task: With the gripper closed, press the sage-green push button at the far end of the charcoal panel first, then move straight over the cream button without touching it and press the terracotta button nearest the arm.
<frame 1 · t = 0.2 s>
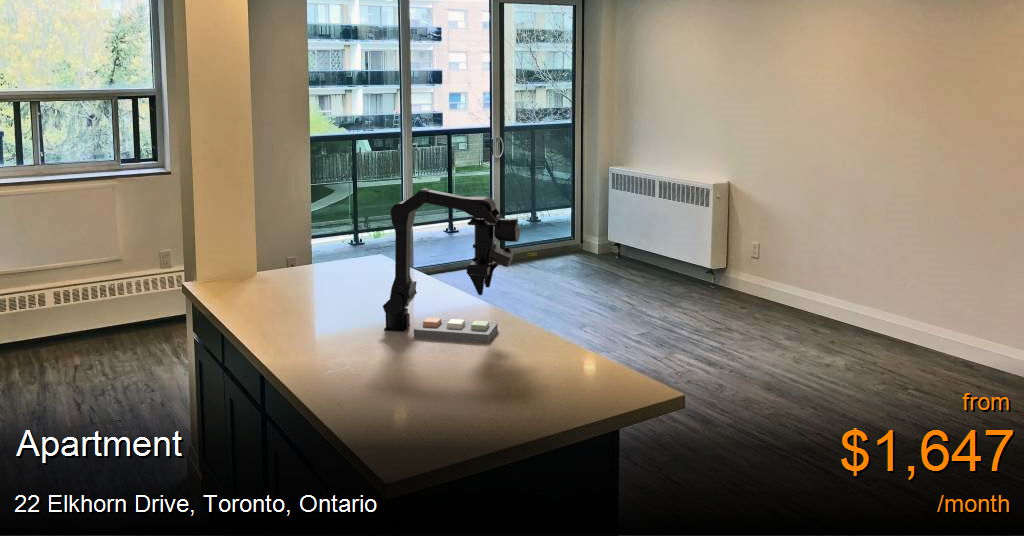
hand: (484, 291, 283), 14 cm above the kitchen island, fingers open, 9 cm apart
button panel: (456, 334, 287), on the kitchen island
cream button: (456, 325, 286), point 3 cm above the kitchen island, slide at 0.0 cm
sage button: (480, 327, 285), point 3 cm above the kitchen island, slide at 0.0 cm
terracotta button: (432, 323, 288), point 3 cm above the kitchen island, slide at 0.0 cm
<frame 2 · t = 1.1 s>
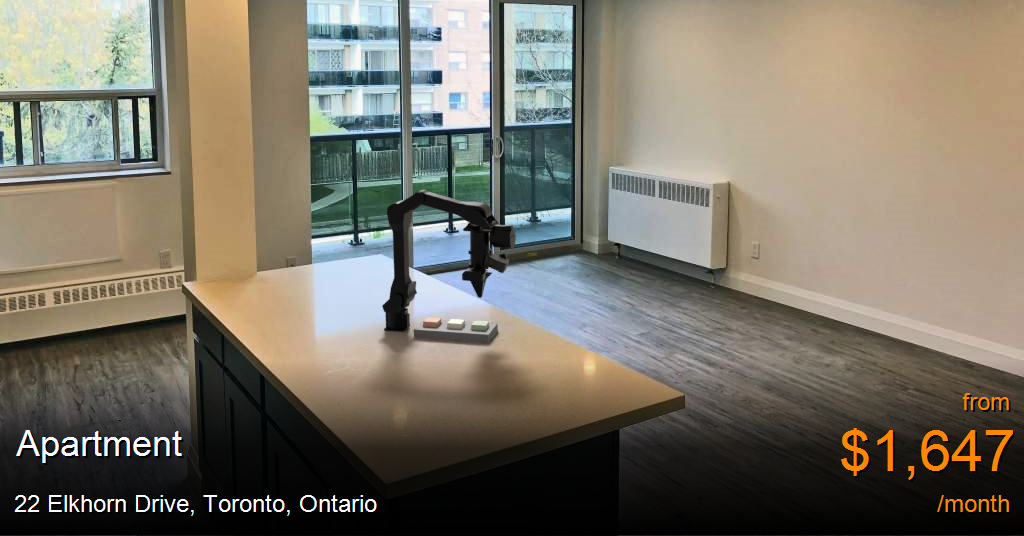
hand: (480, 297, 282), 12 cm above the kitchen island, fingers closed
nothing on the kitchen island moved.
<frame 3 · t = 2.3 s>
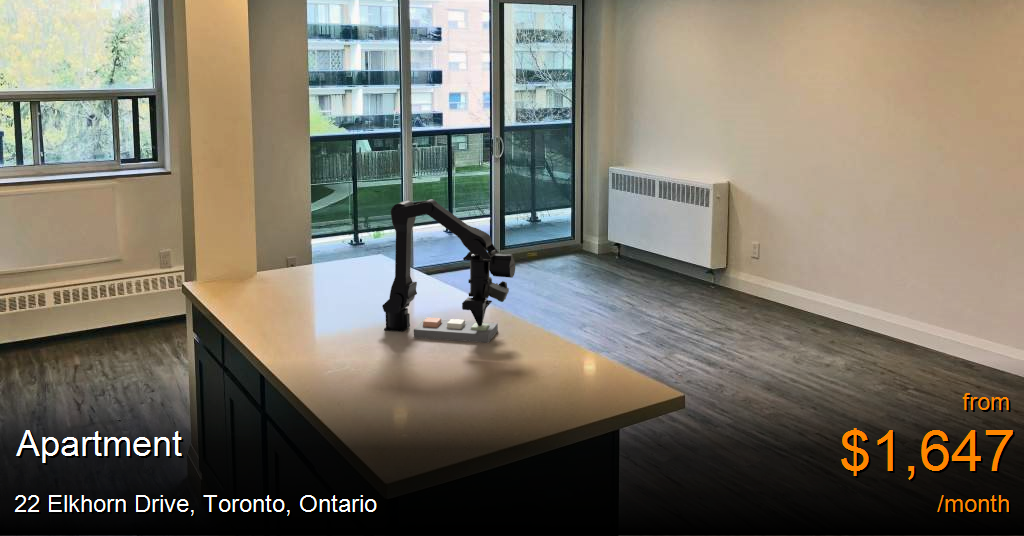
hand: (480, 325, 284), 3 cm above the kitchen island, fingers closed, pressing on sage button
sage button: (480, 329, 285), point 2 cm above the kitchen island, slide at 0.8 cm, touching gripper
everything else where it was.
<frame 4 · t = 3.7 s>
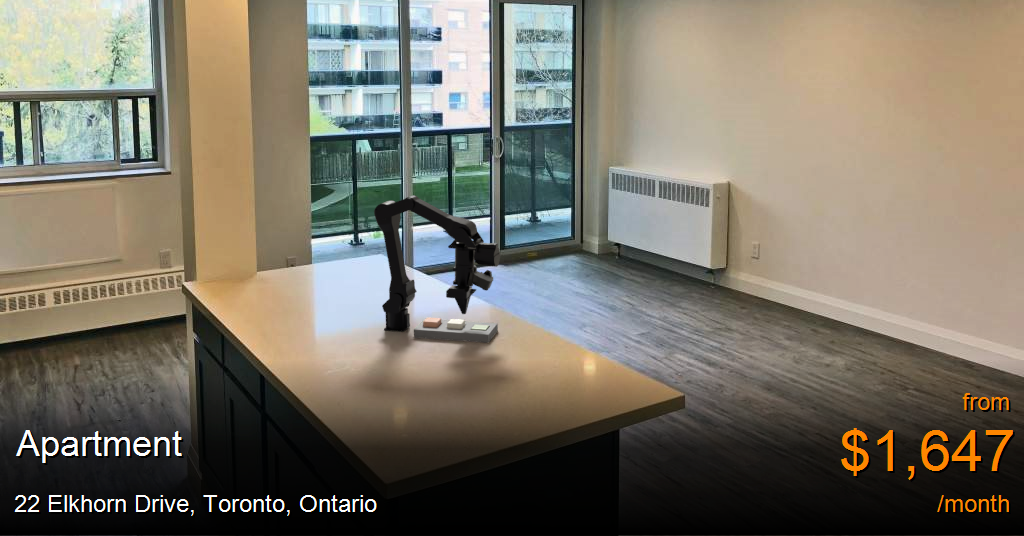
hand: (464, 313, 285), 7 cm above the kitchen island, fingers closed
sage button: (480, 331, 285), point 1 cm above the kitchen island, slide at 1.3 cm
everything else where it was.
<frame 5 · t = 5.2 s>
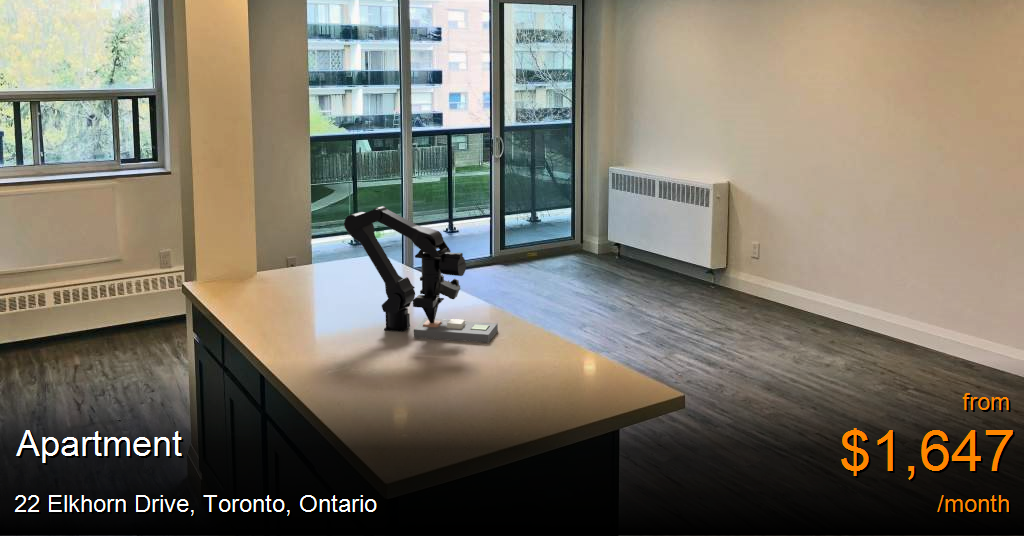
hand: (432, 322, 288), 3 cm above the kitchen island, fingers closed, pressing on terracotta button
terracotta button: (432, 326, 288), point 2 cm above the kitchen island, slide at 0.9 cm, touching gripper
everything else where it was.
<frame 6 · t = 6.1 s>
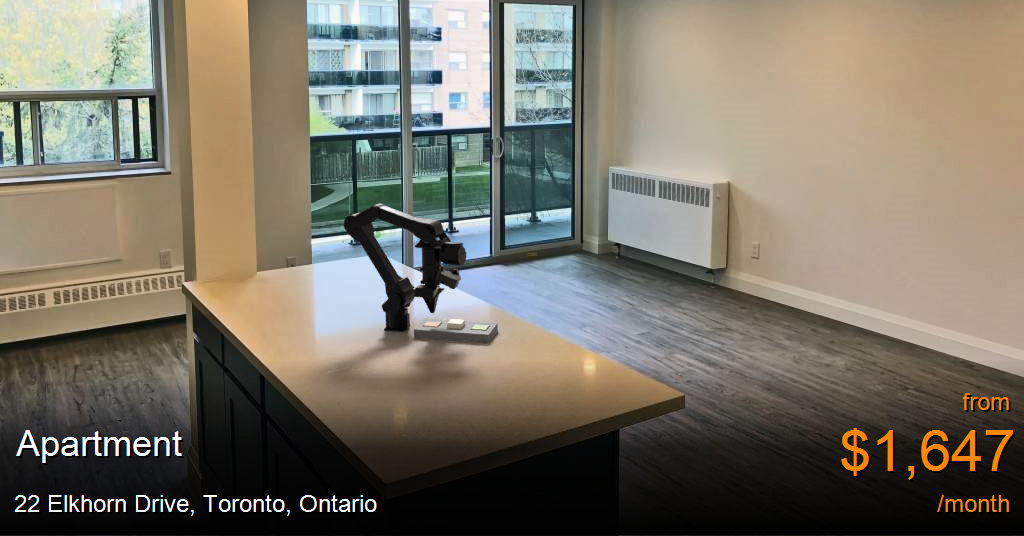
hand: (432, 312, 287), 6 cm above the kitchen island, fingers closed
terracotta button: (432, 327, 288), point 1 cm above the kitchen island, slide at 1.3 cm
everything else where it was.
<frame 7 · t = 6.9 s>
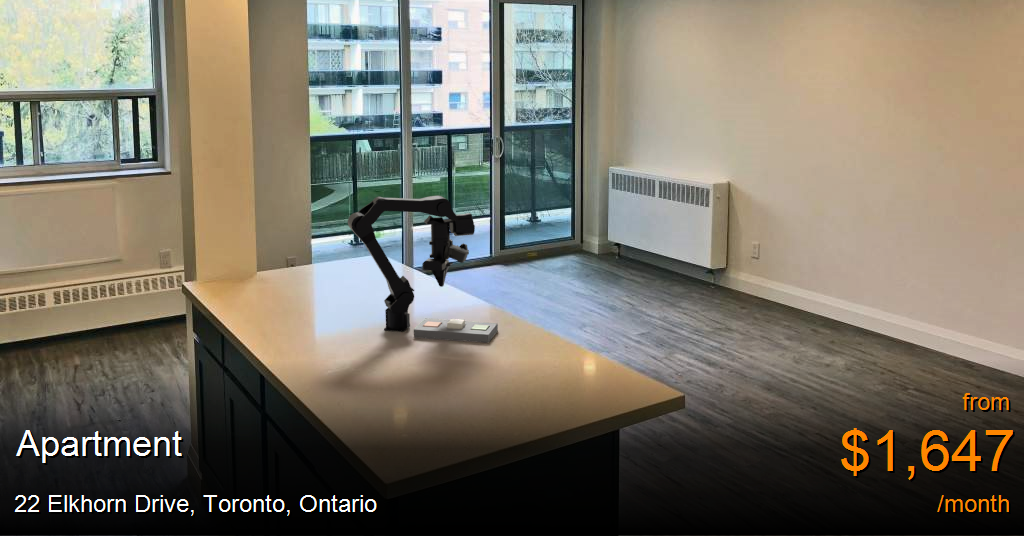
hand: (441, 286, 295), 12 cm above the kitchen island, fingers closed
nothing on the kitchen island moved.
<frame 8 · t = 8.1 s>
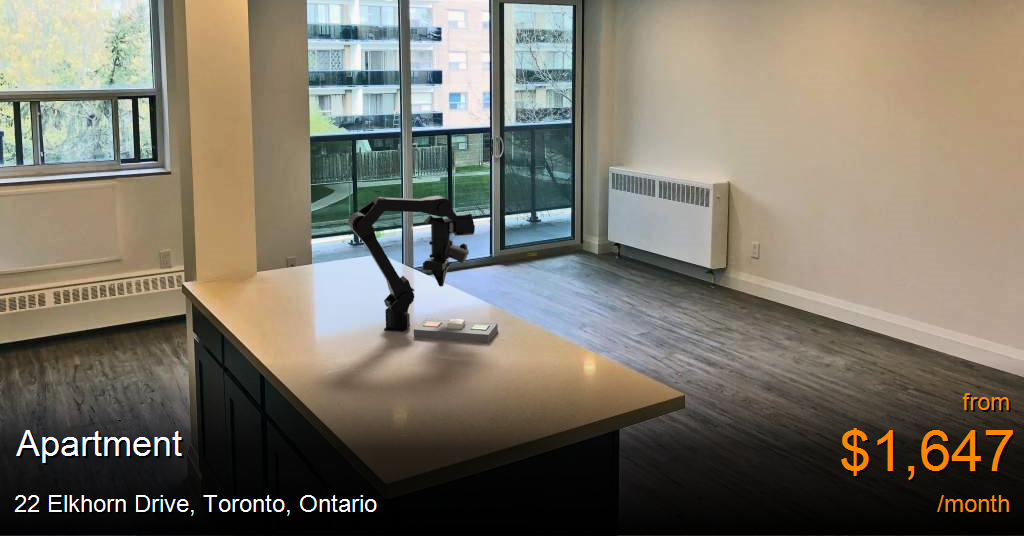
hand: (441, 286, 295), 12 cm above the kitchen island, fingers closed
nothing on the kitchen island moved.
at the end: sage button slide at 1.3 cm; terracotta button slide at 1.3 cm; cream button slide at 0.0 cm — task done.
